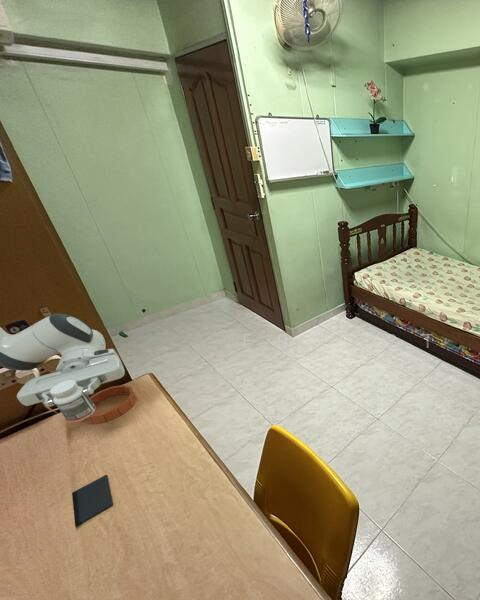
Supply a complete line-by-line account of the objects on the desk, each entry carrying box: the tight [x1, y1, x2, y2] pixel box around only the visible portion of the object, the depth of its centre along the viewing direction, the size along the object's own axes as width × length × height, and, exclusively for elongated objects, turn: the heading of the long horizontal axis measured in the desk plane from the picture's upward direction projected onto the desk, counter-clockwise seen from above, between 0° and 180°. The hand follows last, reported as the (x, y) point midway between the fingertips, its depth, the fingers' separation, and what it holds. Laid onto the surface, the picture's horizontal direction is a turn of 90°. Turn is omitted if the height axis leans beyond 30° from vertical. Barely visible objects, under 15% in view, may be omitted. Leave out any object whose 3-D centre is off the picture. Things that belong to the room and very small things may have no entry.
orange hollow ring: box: [83, 384, 138, 425], centre depth 96 cm, size 13×13×3 cm
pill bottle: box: [50, 380, 96, 423], centre depth 80 cm, size 6×6×10 cm
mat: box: [71, 474, 114, 528], centre depth 71 cm, size 12×10×1 cm
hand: (69, 398), depth 78 cm, fingers closed on pill bottle, 5 cm apart
